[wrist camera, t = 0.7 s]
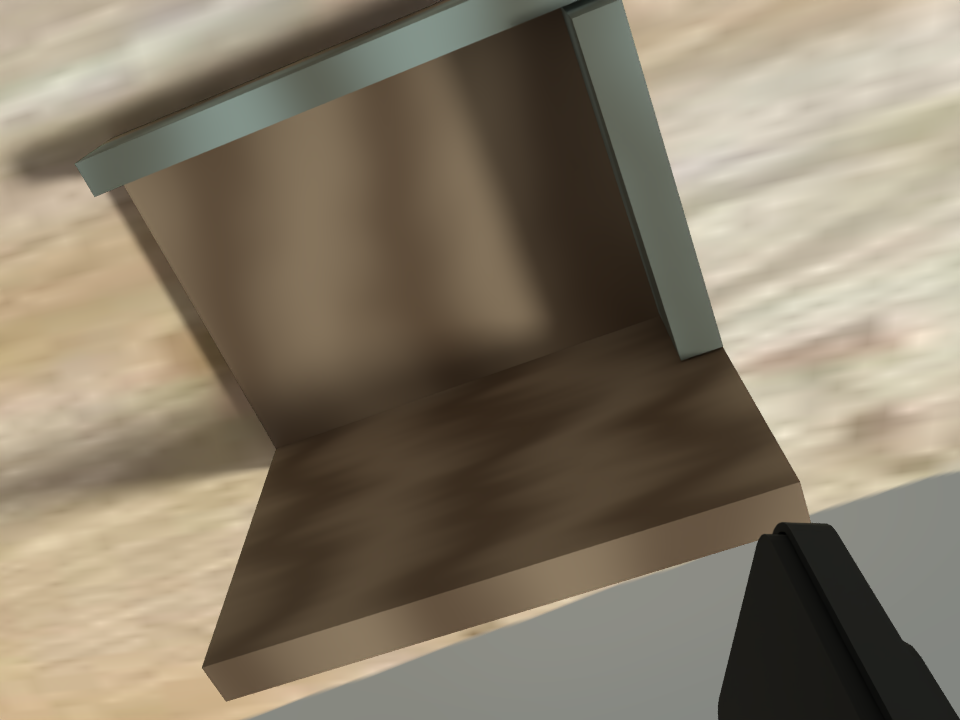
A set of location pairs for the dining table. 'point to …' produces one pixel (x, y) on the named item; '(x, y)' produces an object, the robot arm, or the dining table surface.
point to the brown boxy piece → (452, 331)
